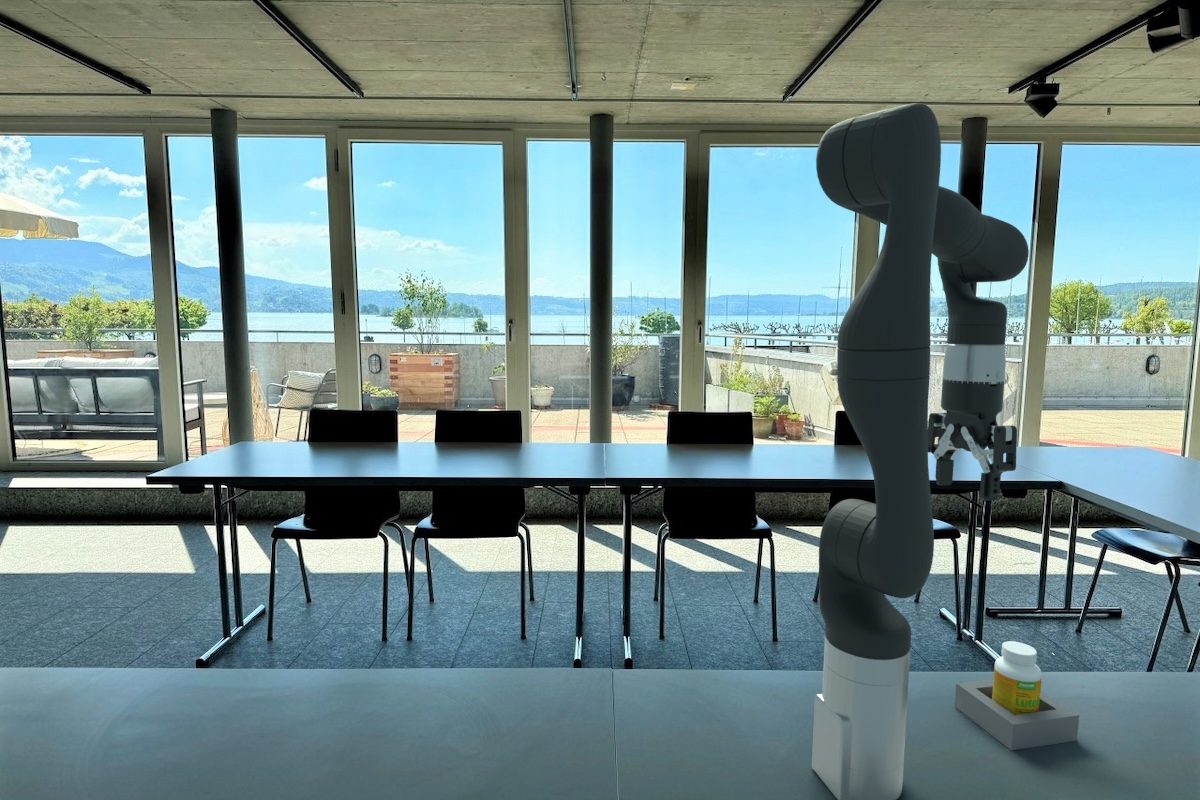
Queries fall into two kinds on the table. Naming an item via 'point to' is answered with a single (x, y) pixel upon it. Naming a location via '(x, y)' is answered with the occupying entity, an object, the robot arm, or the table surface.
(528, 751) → the table surface
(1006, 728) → the socket mount
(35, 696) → the table surface
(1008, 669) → the supplement bottle
